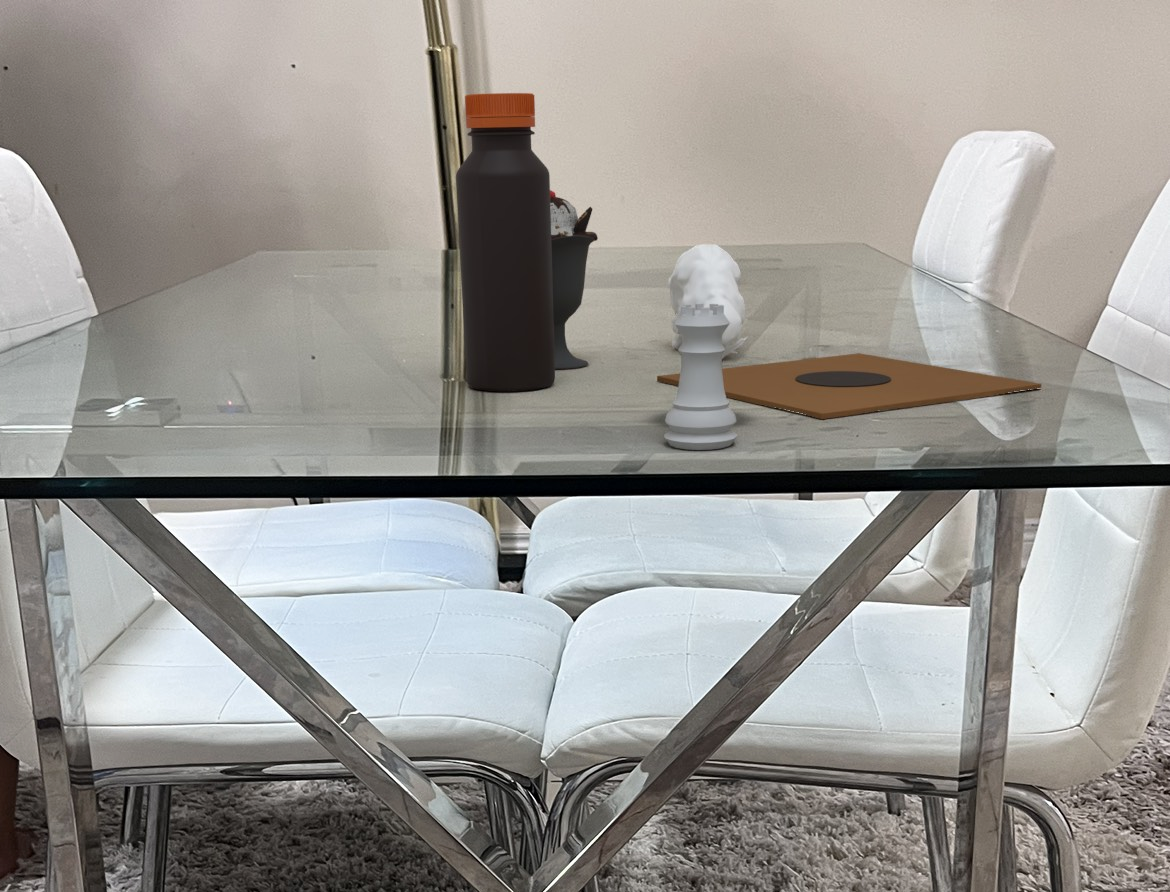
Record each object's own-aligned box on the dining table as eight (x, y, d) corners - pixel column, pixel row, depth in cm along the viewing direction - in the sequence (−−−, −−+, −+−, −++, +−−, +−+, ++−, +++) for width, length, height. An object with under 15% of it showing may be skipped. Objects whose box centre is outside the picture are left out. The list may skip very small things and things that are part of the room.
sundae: (504, 363, 117) (496, 168, 111) (576, 357, 120) (572, 166, 114) (538, 373, 112) (532, 169, 106) (612, 366, 115) (610, 167, 109)
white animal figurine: (738, 239, 122) (765, 263, 112) (733, 338, 127) (759, 371, 116) (666, 240, 122) (686, 265, 112) (664, 341, 126) (684, 373, 116)
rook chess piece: (660, 450, 83) (660, 310, 80) (666, 436, 87) (667, 302, 84) (735, 451, 83) (739, 309, 80) (738, 437, 87) (742, 301, 84)
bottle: (514, 375, 111) (503, 96, 103) (574, 384, 107) (567, 92, 99) (448, 386, 107) (431, 95, 99) (507, 395, 103) (495, 92, 94)
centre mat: (1041, 389, 101) (1041, 382, 100) (821, 419, 92) (822, 411, 91) (858, 358, 116) (859, 351, 116) (656, 381, 108) (656, 374, 107)
